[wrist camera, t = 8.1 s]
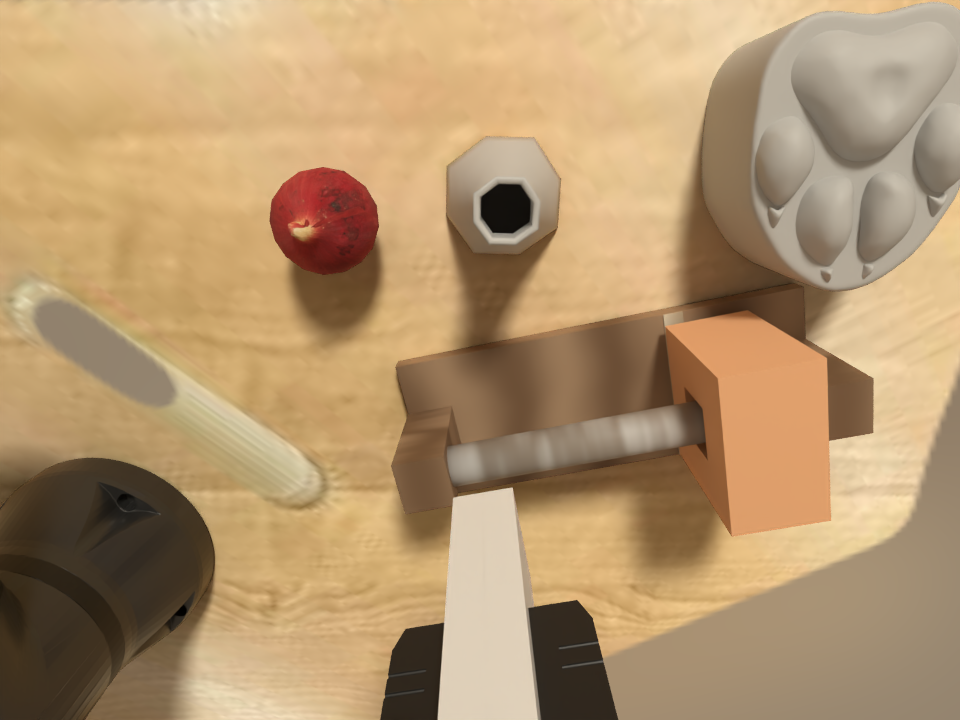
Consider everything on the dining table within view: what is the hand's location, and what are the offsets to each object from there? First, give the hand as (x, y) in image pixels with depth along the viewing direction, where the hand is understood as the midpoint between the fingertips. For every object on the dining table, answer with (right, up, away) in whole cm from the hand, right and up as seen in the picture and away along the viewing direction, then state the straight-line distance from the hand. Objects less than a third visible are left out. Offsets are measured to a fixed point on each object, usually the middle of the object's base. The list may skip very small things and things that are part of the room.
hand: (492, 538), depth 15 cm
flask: (+1, +15, +21) cm, 26 cm away
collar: (+14, +3, +23) cm, 27 cm away
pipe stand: (+8, +2, +25) cm, 26 cm away
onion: (-9, +14, +22) cm, 27 cm away
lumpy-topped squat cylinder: (+18, +16, +20) cm, 32 cm away
